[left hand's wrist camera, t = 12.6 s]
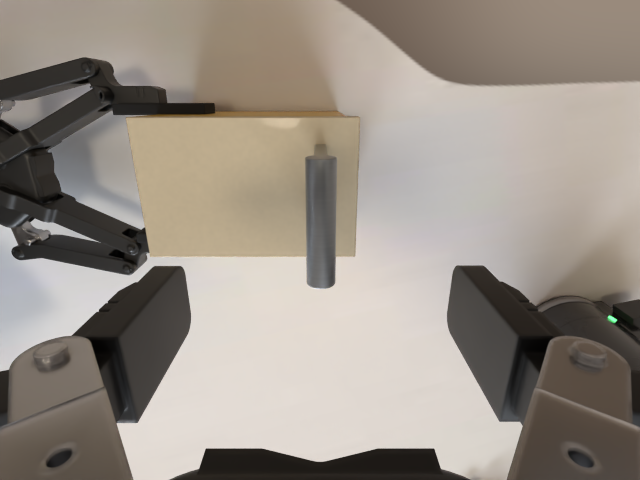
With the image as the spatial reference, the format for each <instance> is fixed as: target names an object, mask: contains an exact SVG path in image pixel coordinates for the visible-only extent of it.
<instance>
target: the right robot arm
mask: <svg viewBox="0 0 640 480" xmlns="http://www.w3.org/2000/svg"><path fill="white" fill-rule="evenodd" d="M113 73H114V70H113V67H112V65H111V64H110V63H109V62H107V61H103V60H97V59H92V58H79V59H76V60H72V61H68V62H65V63H61V64H57V65H54V66H50V67H46V68H43V69H39V70H36V71H32V72H28V73H25V74H21V75H17V76H14V77H10V78H6V79H3V80H0V116H1V114H2V113H3V112H4V111H9V110H11V108H12V107H13V106H15V101H14V100H29V99H33V98H37V97H41V96H45V95H48V94H52V93H56V92H60V91H63V90H67V89H71V88H75V87H78V86H82V85H86V84H91V86H90V88H93V89H92V90H90V91H88V92H87V93H85V94H84V95H82V96H80V97H79V98H77V99H75V100H74V101H72V102H71V103H69V104H67V105H66V106H64V107H62V108H61V109H59V110H58V111H56V112H54V113H53V114H51V115H49V116H48V117H46V118H45V119H43V120H41V121H40V122H38V123H36V124H35V125H33V126H32V127H30V128H28V129H25V130H22V131H20V130H18V129H16V128H15V127H13V126H12V125H10V124H8V123H7V122H5V121H3V120H1V117H0V224H1V225H3V226H5V227H9V228H11V229H12V231H13V234H14V236H15V238H16V241H17V243H18V246H16V247H14V248H13V249H12V255H13V256H14V257H15V258H16V259H18V260H28V259H36V258H45V259H50V260H55V261H60V262H65V263H70V264H75V265H80V266H85V267H90V268H94V269H99V270H104V271H109V272H114V273H119V274H124V275H131V274H133V273H134V272H135V271H136V270H137V269H138V268H139V267H140V266H142V265H143V264H144V263H145V262H146V260H147V256H146V253H150V252H149V247H148V241H147V235H146V230H145V228H143V229H142V230H140V229H138V228H136V227H133V226H131V225H129V224H126V223H124V222H122V221H120V220H117V219H115V218H113V217H110V216H108V215H106V214H104V213H101V212H99V211H97V210H95V209H92V208H90V207H88V206H85V205H83V204H81V203H79V202H77V201H76V199H75V198H74V197H72V196H70V195H67V194H65V193H63V192H61V188H60V184H59V181H58V179H57V177H56V175H55V173H54V160H53V156H52V153H48V152H47V150H49V149H51V148H52V147H54V146H56V145H57V144H59V143H61V142H62V141H61V140H63V139H64V138H66V137H68V136H69V135H71V134H73V133H74V132H76V131H78V130H79V129H81V128H83V127H84V126H86V125H88V124H89V123H91V122H93V121H95V120H96V119H98V118H100V117H101V116H103V115H105V114H106V113H108V112H110V111H111V110H113V115H181V114H213V113H215V105H214V103H167V97H166V90H165V89H163V88H160V87H155V86H122V85H120V84H119V83H118V82H117V80H116V79H115V77H114V75H113ZM35 218H36V219H38V220H40V221H43V222H54V223H56V224H59V225H61V226H63V227H66V228H68V229H70V230H73V231H75V232H77V233H80V234H82V235H85V236H87V237H89V238H92V239H94V240H96V241H99V242H101V243H99V242H95V241H90V240H85V239H80V238H75V237H70V236H65V235H51V233H50V231H48V230H42V229H36V228H34V227H33V226H32V225H31V223H30V222H31V221H32V220H34V219H35Z"/></svg>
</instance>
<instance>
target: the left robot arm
mask: <svg viewBox="0 0 640 480" xmlns="http://www.w3.org/2000/svg"><path fill="white" fill-rule="evenodd" d="M447 322H448V328H449V331H450V334H451V336H452V337H453V339H454V341H455V343H456V344H457V346H458V348H459V350H460V352H461V353H462V355H463V357H464V359H465V361H466V362H467V364H468V366H469V368H470V370H471V371H472V373H473V375H474V377H475V378H476V380H477V382H478V384H479V386H480V387H481V389H482V391H483V393H484V395H485V396H486V398H487V400H488V402H489V404H490V405H491V407H492V409H493V411H494V412H495V414H496V416H497V418H498V420H499V421H500V422H521V424H522V425H523V427H522V431H521V434H520V437H519V441H518V444H517V447H516V451H515V454H514V457H513V461H512V464H511V467H510V471H509V474H508V477H507V480H640V300H639V299H638V300H633V301H629V302H624V303H619V304H614V305H613V309H612V308H610V307H609V306H608V305H606V304H605V303H603V302H602V301H600V302H594V303H592V302H591V301H589V300H587V299H584V298H581V297H574V296H567V297H560V298H555V299H552V300H550V301H547V302H545V303H543V304H541V305H540V306H538V307H535V306H534V305H533V304H532V303H529V300H528V299H527V298H526V297H525V296H524V295H523V294H522V293H521V292H520V291H519V290H517V289H515V288H513V287H511V286H509V285H508V284H506V283H504V282H499V281H498V280H497V279H496V278H495V277H494V276H493V274H492V273H491V272H490V271H489V270H488V269H487V268H486V267H484V266H456V267H455V268H454V271H453V275H452V282H451V290H450V297H449V304H448V311H447ZM190 323H191V311H190V304H189V297H188V290H187V283H186V276H185V272H184V269H183V268H182V267H181V266H154V267H153V268H152V269H151V270H150V271H149V272H148V273H147V274H146V275H145V276H144V277H143V278H142V279H141V280H140V281H139V282H135V283H133V284H131V285H129V286H127V287H126V288H124V289H122V290H120V291H118V292H117V293H116V294H115V295H114V296H113V297H112V298H111V299H110V300H109V301H108V303H106V304H105V305H104V306H103V307H102V308H100V309H99V312H96V313H95V314H94V315H93V316H92V317H91V318H90V319H89V320H88V321H87V322H86V323H85V324H84V325H83V326H81V327H80V328H79V329H78V330H77V331H76V332H75V333H74V334H73V335H72V336H65V337H59V338H55V339H51V340H48V341H45V342H42V343H40V344H38V345H35V346H33V347H31V348H30V349H28V350H26V351H25V352H23V353H22V354H20V355H19V356H18V357H17V358H16V359H15V360H14V361H13V362H12V364H11V366H10V369H9V370H6V371H1V372H0V480H133V477H132V474H131V471H130V467H129V464H128V461H127V457H126V454H125V451H124V447H123V444H122V441H121V437H120V434H119V431H118V427H117V424H116V423H138V421H139V419H140V417H141V416H142V414H143V412H144V410H145V409H146V407H147V405H148V403H149V402H150V400H151V398H152V396H153V395H154V393H155V391H156V389H157V387H158V386H159V384H160V382H161V380H162V379H163V377H164V375H165V373H166V372H167V370H168V368H169V366H170V364H171V363H172V361H173V359H174V357H175V356H176V354H177V352H178V350H179V349H180V347H181V345H182V343H183V341H184V340H185V338H186V336H187V334H188V332H189V329H190ZM170 480H470V479H468V478H465V477H463V476H461V475H458V474H455V473H452V472H449V471H446V470H442V469H441V468H440V465H439V462H438V459H437V456H436V453H435V450H434V449H375V450H371V451H366V452H362V453H358V454H354V455H350V456H346V457H342V458H338V459H334V460H330V461H325V462H315V461H310V460H306V459H302V458H298V457H294V456H290V455H286V454H282V453H278V452H274V451H269V450H265V449H206V450H205V453H204V456H203V459H202V462H201V465H200V468H199V469H198V470H194V471H191V472H188V473H185V474H182V475H179V476H177V477H175V478H172V479H170Z"/></svg>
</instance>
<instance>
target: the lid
mask: <svg viewBox="0 0 640 480" xmlns="http://www.w3.org/2000/svg"><path fill="white" fill-rule="evenodd" d="M126 122H127V128H128V134H129V139H130V145H131V151H132V156H133V162H134V167H135V173H136V179H137V184H138V190H139V196H140V201H141V207H142V213H143V218H144V224H145V230H146V235H147V241H148V247H149V252H150V257H306V258H307V284H308V285H309V286H310V287H312V288H316V289H326V288H330V287H332V286H333V285H334V284H335V262H336V257H355V245H356V217H357V189H358V160H359V132H360V117H358V116H209V117H126Z"/></svg>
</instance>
